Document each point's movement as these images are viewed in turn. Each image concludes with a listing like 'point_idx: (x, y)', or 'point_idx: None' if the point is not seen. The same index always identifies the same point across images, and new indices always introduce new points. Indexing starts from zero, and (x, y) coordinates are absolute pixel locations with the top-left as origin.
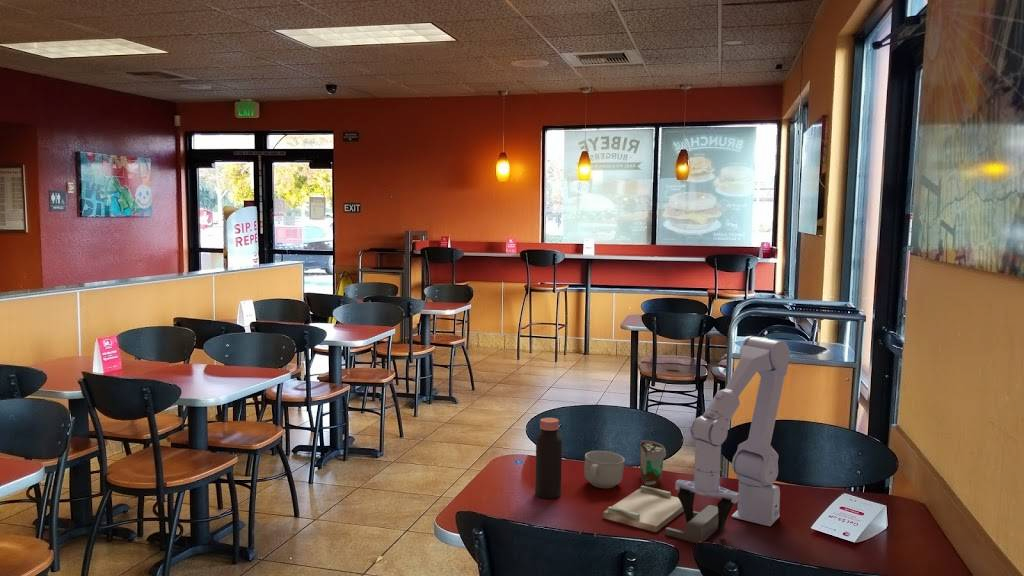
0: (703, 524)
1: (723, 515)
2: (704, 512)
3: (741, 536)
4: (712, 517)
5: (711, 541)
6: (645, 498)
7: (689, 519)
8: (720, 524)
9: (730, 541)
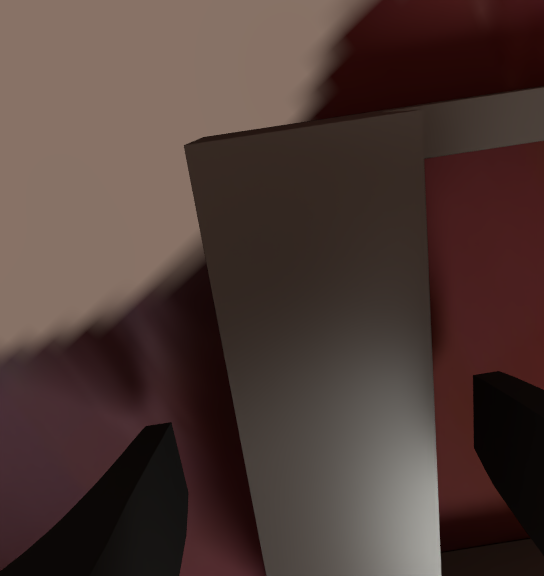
0: (218, 261)
1: (26, 556)
2: (396, 566)
3: None
4: (255, 518)
5: (171, 277)
6: None
7: (489, 400)
8: (122, 462)
9: (59, 394)
